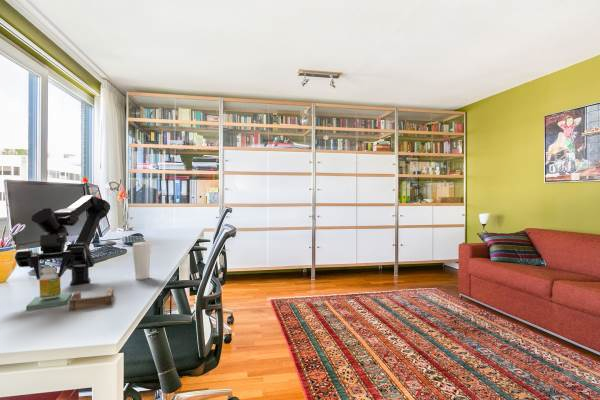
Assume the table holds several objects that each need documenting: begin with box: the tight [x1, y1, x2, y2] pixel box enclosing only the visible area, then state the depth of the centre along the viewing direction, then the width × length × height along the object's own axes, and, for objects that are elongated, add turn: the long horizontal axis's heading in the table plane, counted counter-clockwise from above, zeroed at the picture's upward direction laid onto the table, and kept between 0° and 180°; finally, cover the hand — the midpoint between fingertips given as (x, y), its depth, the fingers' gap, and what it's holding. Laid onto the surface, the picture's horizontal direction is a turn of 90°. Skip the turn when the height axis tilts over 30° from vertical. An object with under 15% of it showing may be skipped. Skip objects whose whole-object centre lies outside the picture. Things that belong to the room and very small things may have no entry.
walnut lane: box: [68, 286, 115, 312], centre depth 104 cm, size 10×11×3 cm
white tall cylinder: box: [132, 241, 152, 281], centre depth 134 cm, size 7×7×15 cm
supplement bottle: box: [38, 266, 62, 299], centre depth 105 cm, size 5×5×10 cm
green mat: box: [25, 292, 73, 311], centre depth 105 cm, size 10×10×1 cm
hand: (48, 277), depth 104 cm, fingers closed on supplement bottle, 5 cm apart
